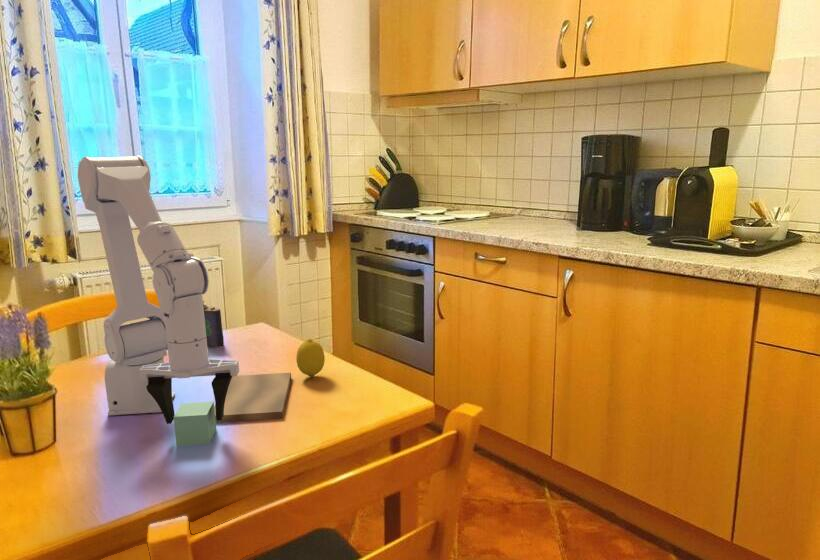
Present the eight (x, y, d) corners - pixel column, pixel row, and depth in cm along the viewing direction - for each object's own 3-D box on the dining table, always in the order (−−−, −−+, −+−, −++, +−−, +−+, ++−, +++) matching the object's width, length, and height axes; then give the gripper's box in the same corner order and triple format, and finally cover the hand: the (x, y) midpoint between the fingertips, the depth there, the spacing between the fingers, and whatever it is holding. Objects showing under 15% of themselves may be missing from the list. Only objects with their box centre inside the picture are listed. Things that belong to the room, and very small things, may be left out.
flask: (183, 347, 139) (179, 302, 136) (189, 343, 142) (185, 299, 139) (221, 347, 138) (217, 303, 135) (226, 343, 141) (223, 300, 138)
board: (210, 422, 100) (209, 416, 100) (229, 381, 117) (229, 376, 117) (282, 418, 101) (282, 411, 101) (291, 378, 119) (291, 372, 118)
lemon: (319, 383, 116) (317, 344, 114) (293, 381, 117) (290, 343, 115) (329, 372, 121) (327, 335, 119) (303, 371, 122) (301, 334, 120)
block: (176, 446, 92) (173, 416, 91) (185, 431, 97) (181, 403, 96) (209, 444, 93) (206, 414, 92) (216, 429, 98) (213, 401, 97)
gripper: (128, 348, 87) (139, 434, 90) (230, 343, 88) (237, 427, 91) (144, 334, 93) (154, 414, 96) (238, 329, 95) (245, 408, 98)
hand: (195, 419), depth 94 cm, fingers open, 7 cm apart
